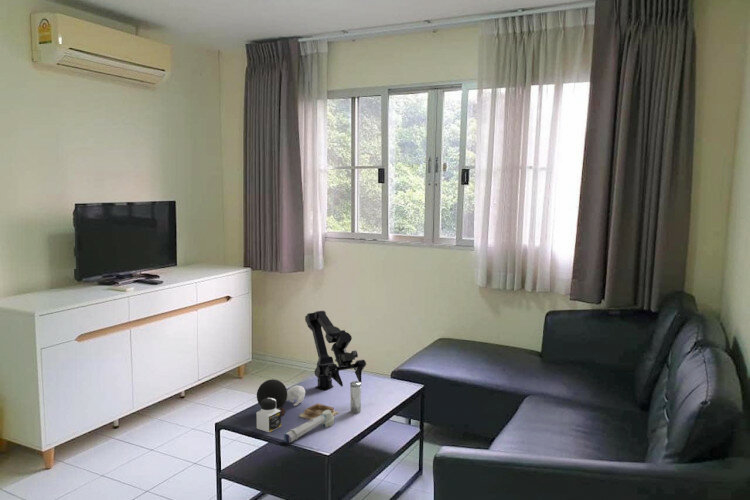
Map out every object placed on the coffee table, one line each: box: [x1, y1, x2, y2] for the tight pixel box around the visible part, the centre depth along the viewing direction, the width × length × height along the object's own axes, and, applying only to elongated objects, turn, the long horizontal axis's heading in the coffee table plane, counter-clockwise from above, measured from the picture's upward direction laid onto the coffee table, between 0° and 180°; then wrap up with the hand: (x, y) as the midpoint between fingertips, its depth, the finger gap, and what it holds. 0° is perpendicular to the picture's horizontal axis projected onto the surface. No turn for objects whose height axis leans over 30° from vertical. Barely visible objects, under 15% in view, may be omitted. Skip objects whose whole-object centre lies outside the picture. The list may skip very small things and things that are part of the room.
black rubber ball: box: [256, 379, 288, 418], centre depth 236 cm, size 13×13×15 cm
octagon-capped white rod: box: [282, 410, 335, 444], centre depth 218 cm, size 5×7×25 cm
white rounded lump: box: [286, 385, 306, 407], centre depth 248 cm, size 6×8×12 cm
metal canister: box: [349, 380, 362, 414], centre depth 239 cm, size 5×5×13 cm
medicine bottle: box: [256, 398, 282, 433], centre depth 221 cm, size 7×7×12 cm
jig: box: [299, 402, 339, 421], centre depth 235 cm, size 12×12×3 cm
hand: (351, 384), depth 242 cm, fingers open, 9 cm apart
